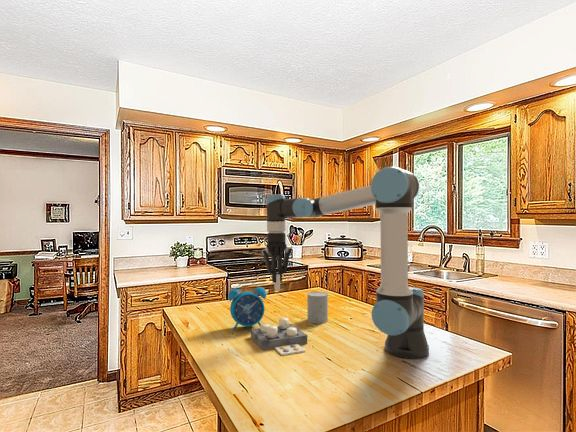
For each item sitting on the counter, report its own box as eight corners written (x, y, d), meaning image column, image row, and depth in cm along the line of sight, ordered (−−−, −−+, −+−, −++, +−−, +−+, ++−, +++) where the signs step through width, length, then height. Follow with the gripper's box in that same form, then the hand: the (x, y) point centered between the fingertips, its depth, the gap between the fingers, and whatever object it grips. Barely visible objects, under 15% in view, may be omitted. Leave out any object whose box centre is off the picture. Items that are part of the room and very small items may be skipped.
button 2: (279, 337, 132) (279, 328, 132) (269, 338, 131) (268, 329, 131) (275, 334, 136) (275, 325, 136) (265, 335, 134) (265, 326, 134)
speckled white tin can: (327, 317, 168) (327, 291, 168) (328, 323, 159) (328, 296, 159) (307, 317, 169) (307, 291, 169) (306, 323, 160) (306, 296, 160)
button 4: (298, 338, 135) (298, 329, 135) (288, 340, 134) (288, 331, 134) (294, 335, 139) (294, 326, 139) (285, 337, 137) (284, 328, 137)
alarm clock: (229, 333, 146) (229, 285, 146) (227, 325, 156) (227, 280, 156) (269, 330, 150) (268, 283, 150) (264, 322, 160) (264, 279, 160)
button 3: (290, 328, 143) (290, 319, 142) (281, 329, 141) (281, 320, 141) (286, 325, 146) (286, 317, 146) (277, 326, 145) (277, 318, 145)
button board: (307, 343, 135) (307, 335, 135) (262, 350, 128) (262, 341, 128) (292, 331, 149) (292, 324, 149) (250, 336, 142) (250, 329, 142)
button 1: (271, 335, 139) (271, 326, 139) (262, 336, 138) (262, 327, 138) (268, 332, 143) (268, 323, 143) (259, 333, 142) (259, 324, 142)
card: (304, 351, 126) (304, 349, 126) (281, 355, 123) (281, 353, 123) (297, 345, 133) (297, 342, 133) (274, 348, 129) (274, 346, 129)
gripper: (287, 231, 150) (288, 287, 150) (258, 232, 144) (259, 290, 144) (294, 232, 143) (295, 290, 143) (264, 233, 138) (265, 293, 137)
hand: (277, 290), depth 143 cm, fingers closed
